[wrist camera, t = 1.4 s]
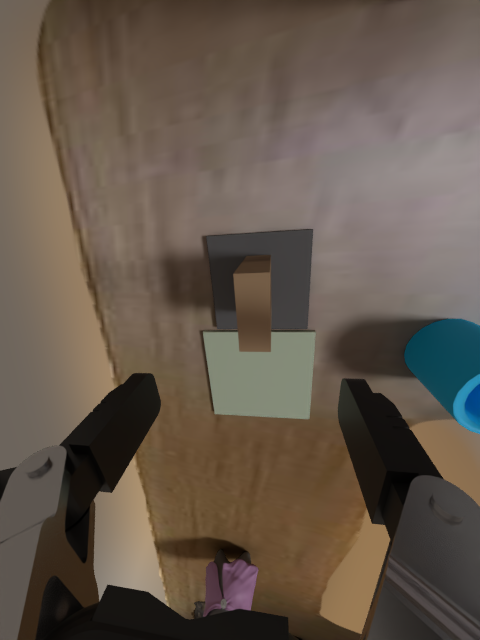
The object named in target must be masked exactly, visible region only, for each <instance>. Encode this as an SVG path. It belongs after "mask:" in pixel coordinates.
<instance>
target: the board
mask: <svg viewBox="0 0 480 640" xmlns="http://www.w3.org/2000/svg"><path fill="white" fill-rule="evenodd" d="M315 335H316V332H315V330H271V352H239V340H238V330H204V331H203V337H204V344H205V351H206V358H207V364H208V371H209V378H210V385H211V392H212V398H213V405H214V412H215V414H225V415H243V416H261V417H279V418H297V419H309V416H310V402H311V389H312V375H313V362H314V348H315Z"/></svg>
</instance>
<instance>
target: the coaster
mask: <svg viewBox="0 0 480 640" xmlns="http://www.w3.org/2000/svg"><path fill="white" fill-rule="evenodd" d="M206 237H207V246H208V254H209V263H210V271H211V280H212V288H213V297H214V305H215V314H216V322H217V329H238V327H237V315H236V302H235V289H234V276H233V274H234V272H235V271H236V270H237V268H238V267H239V265H240V264H241V263H242V261H243V260H244V259H245V257H246V256H257V255H271V311H272V312H271V329H307V326H308V309H309V291H310V274H311V256H312V239H313V229H308V230H292V231H277V232H262V233H246V234H231V235H216V236H206Z"/></svg>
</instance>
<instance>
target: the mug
mask: <svg viewBox="0 0 480 640" xmlns="http://www.w3.org/2000/svg"><path fill="white" fill-rule="evenodd" d="M404 357H405V363H406V365H407V366H408V368H409V369H410V371H411V372H412V373H413V374H414V375H415V376H416V377H417V378H418V379H419V380H420V382H421V383H422V384H423V385H424V386H425V387H426V388H427V389H428V390H429V391H430V392H431V394H432V395H433V396H434V397H435V398H436V399H437V400H438V401H439V402H440V403H441V404H442V406H443V407H444V408H445V409H446V410H447V411H448V412H449V413H450V414H451V415H452V416H453V418H454V419H455V420H456V421H457V422H458V423H459V424H460V425H462V426H463V427H465V428H466V429H468V430H469V431H472V432H476V433H479V434H480V326H479V325H477V324H475V323H473V322H470V321H466V320H463V319H445V320H441V321H437V322H434V323H432V324H430V325H428V326H425V327H423V328H422V329H421V330H419V331H418V332H417V333H416V334H415V335H414V336H413V337H412V338H411V340H410V341H409V342H408V344H407V346H406V349H405V353H404Z"/></svg>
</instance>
